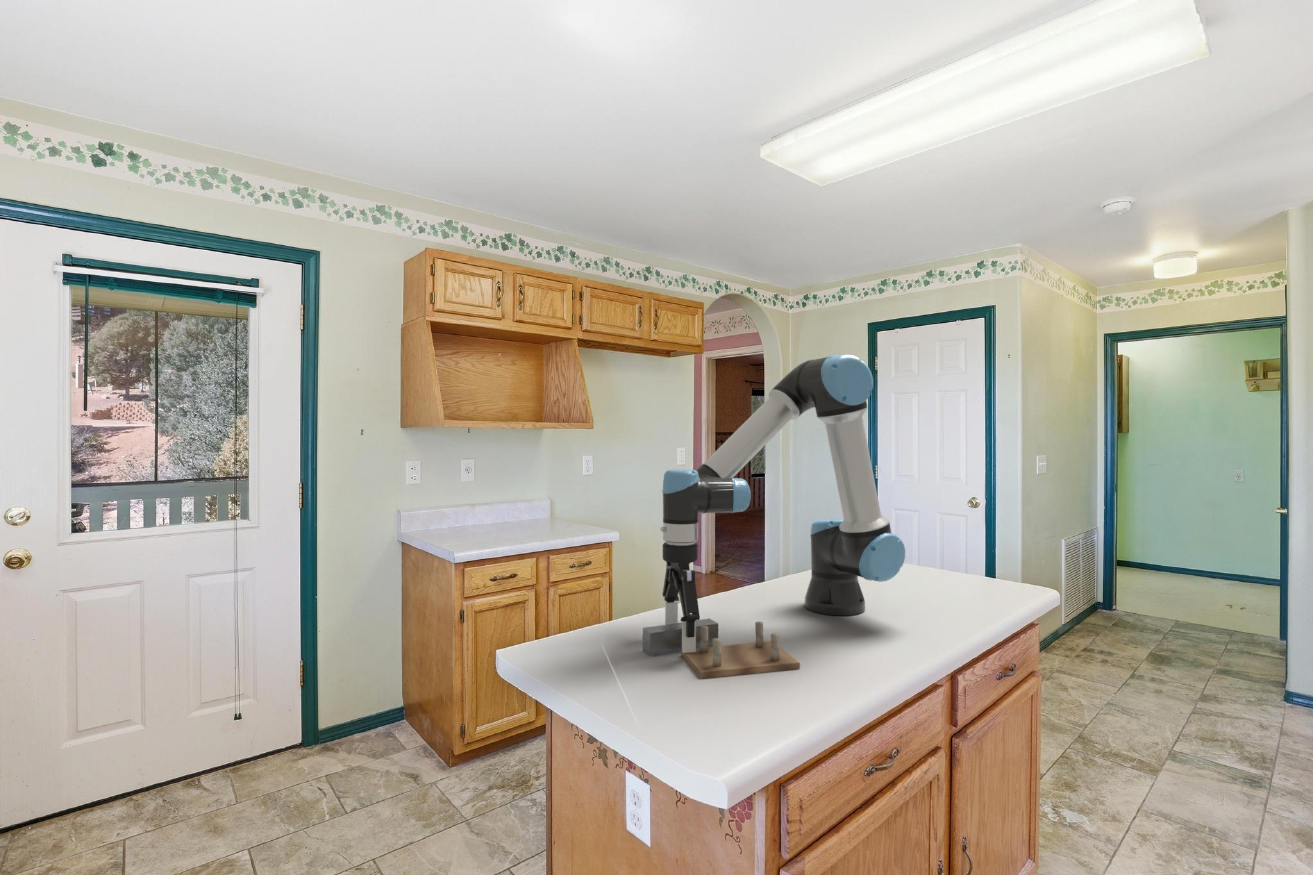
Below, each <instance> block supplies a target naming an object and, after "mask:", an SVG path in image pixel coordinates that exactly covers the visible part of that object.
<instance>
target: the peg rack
mask: <svg viewBox="0 0 1313 875" xmlns="http://www.w3.org/2000/svg"><path fill="white" fill-rule="evenodd" d="M754 626H755V642H751V643H749V642H748V643H739V644H728V645H722V639H721V638H719V637H718V638H714V639H713V646H712V647H708V627H707V626H701V627H700V648H696V652H689V653H682V652H681V653H682V654H681V656H682V657H683V658H684V660H686V662H687V663H688V665H689V666H690V667H691V669H692V670H694V672H695V673H696V675H697V676H698V677H699V678H700V680H701V679H702V680H703V679H710V678H711V679H712V678H720V677H731V676H739V675H740V676H743V675H751V674H759V673H761V674H762V673H770V672H779V671H790V670H800V669H801V664H800V661H799V660H797V659H796V658H795V657H793V656H792V655H791V654H789V653H788V652H787V651H785V649H783V648H782V647H781V646H780V634H779V633H778V632H777V633H776V632H775V633H773V632H772V633H770V641H764V622H763V621H755V625H754Z"/></svg>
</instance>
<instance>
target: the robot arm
mask: <svg viewBox="0 0 1313 875" xmlns="http://www.w3.org/2000/svg"><path fill="white" fill-rule="evenodd" d="M873 388H874V377H873V374H872V372H871V370H870V368H869V366H868V365H867V364H866V363H865V361H864V360H862V359H860V358H859V357H858V356H856V355H852V354H835V355H834V354H833V355H832V356H831V355H830V356H827V357H821V358H816V359H809V360H806V361H804V362H802V363H799V364H798V365H797V366H796V367H794V368H793V369H792V370H791V371H790V372H789V373H787V374H786V375H785V376H784V377H783V378H782V379H781V380H780V381H779V382H778V383H776V385H775V386H774V387H773V388H772V389H771V390H770V391H769V392H768V398H767V400H766V401H764V402H763V404H761V405H760V406H759V407H758V408H757V409H756V410H755V412H753V413H752V414H751V416H749V417H748V419H746V420H745V421H744V423H742V424H741V425H740V426H739V427H738V429H736V430H735V431H734V432H733V433H732V434H731V436H729V437H728V439H726V440H725V442H723V444H721V445H720V446H719V448H717V450H716V449H715V451H714V452H713V453H712V455H710V456H709V458H708V459H706V460H705V461H704V463H702V464H701V465H700V466H699V467H698V468H697V469H696V470H695V469H667V470H666V471H665V472H664V473H663V480H662V511H663V512H662V526H660V532H662V540H663V541H664V542H663V544H662V560H663V561H664V562H666V565H665V566H666V570H665V576H664V580H663V581H664V583H663V587H662V588H663V589H662V597H664V602H665V603H664V611H665V612H664V615H665V616H664V625H667V624H674V623H679V621H678V620H679V617H678V615H679V603H678V602H679V601H680V605H681V611H682V615H683V616H681V617H680V623H681V622H682V651H681V653H689V652H696V620H701V619H700V618H701V615H700V608H699V602H698V600H699V599H698V593H697V584H696V570H691V569H690V564H691V563H695V562H697V561H698V559H699V544H698V543H697V541H698V540H699V514H702V515H703V514H714V513H715V514H717V513H718V514H720V513H721V514H722V513H723V514H724V513H727V514H728V513H731V514H733V513H734V514H735V513H739V512H740V513H741V512H745V511H746V510H747V509H748V508H749V506H750V503H751V497H752V495H751V494H752V492H751V488H750V485H749V483H748V482H747V480H745V479H744V478H741V477H735V476H736V475H737V474H738V473H739V472H740V471H741V470H742V469H743V468H744V467H745V466H746V465H747V464H748V463H749V462H750V461H752V460H753V458H754V457H755V456H756V455H757V454H758V453H759V452H760V451H761V450H762V449H763V448H764V447H765V446H766V445H767V444H768V443H769V442H770V441H771V440H772V439H773V438H774V436H776V435H777V434H778V433H779V432H780V431H781V430H782V429H783V428H784V427H785V426H786V425H788V424H787V423H788V422H789V421H791V420H797V419H799V417H801V415H802V414H803V413H805V412H806V411H808V410H810V409H814V408H815V413H816V418H817V419H818V420H820V421H821V422H823V423H824V425H825V429H826V435H827V439H828V440H827V441H828V445H829V450H830V455H831V459H832V465H833V471H834V475H835V480H836V485H837V491H838V495H839V500H840V507H841V510H842V515H843V518H839V519H835V518H834V519H821V520H815V521H814V522H812V524H811V528H810V549H811V550H810V551H811V552H810V555H811V556H810V558H811V560H810V563H811V567H810V568H811V575H810V576H811V577H810V581H809V583H808V587H807V590H806V593H805V596H804V607H805V608H806V610H809V611H811V612H815V613H817V614H822V615H829V616H830V615H831V616H855V615H859V614H862V613H864V612H865V610H866V601H865V597H864V594H863V591H862V587H861V586H860V582H859V578H863V579H864V580H866V581H873V582H879V583H880V582H881V583H882V582H888V581H890V580H891V579H893V578H895V577H896V576H897V575H898V573H899V572H900V569H901V568H902V567H903V566H904V564H905V559H906V547H905V544H904V542H903V540H902V539H901V538H900V537H898V535H896V534H894V533H892V529H891V524H890V520H889V518H888V517H886V516H885V515H883V514H882V513H881V508H880V502H879V501H880V500H879V498H878V491H877V486H876V483H875V475H874V472H873V471H874V470H873V465H872V461H871V456H870V450H869V446H868V445H869V444H868V441H867V435H866V434H867V433H866V429H865V424H864V420H863V416H864V414H865V412H866V411H867V410H868V404H867V403H868V402H867V400H868V399H869V398H870V396H871V394H872V393H871V392H872V391H873V390H874V389H873ZM858 577H859V578H858Z"/></svg>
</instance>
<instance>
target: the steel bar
mask: <svg viewBox="0 0 1313 875" xmlns="http://www.w3.org/2000/svg"><path fill="white" fill-rule="evenodd" d="M701 626H707V627H708V647H713V639H714V638H719V623H718V622H717V621H715V620H713V619H711V618H704V619H699V620H696V648H700V627H701ZM642 652H644V653H646V654H647V656H649V657H654V656H661V655H668V654H674V653H679V652H681V653H682V622H681V621H680V622H678V623H674V624H667V625H665V624H662V625H660V624H659V625H654V626H653V625H652V626H647V627H642Z"/></svg>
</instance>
